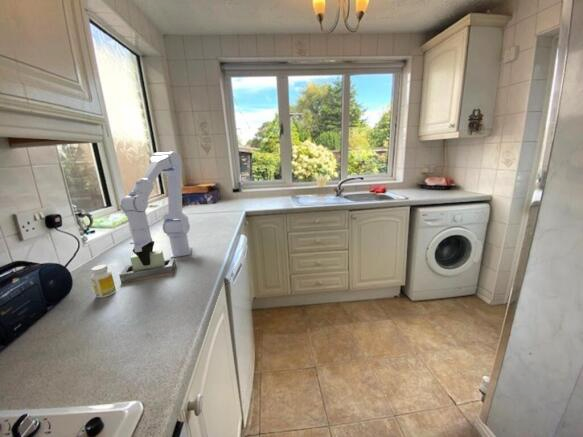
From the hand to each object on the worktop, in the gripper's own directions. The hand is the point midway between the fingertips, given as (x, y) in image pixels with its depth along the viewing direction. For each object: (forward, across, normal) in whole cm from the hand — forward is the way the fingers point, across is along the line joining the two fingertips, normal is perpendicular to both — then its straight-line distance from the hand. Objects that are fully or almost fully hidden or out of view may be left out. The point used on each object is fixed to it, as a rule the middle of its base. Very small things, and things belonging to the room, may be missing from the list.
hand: (148, 263), depth 94 cm
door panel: (+2, 0, 0) cm, 2 cm away
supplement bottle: (+5, +10, -11) cm, 16 cm away
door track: (+4, 0, 0) cm, 4 cm away
